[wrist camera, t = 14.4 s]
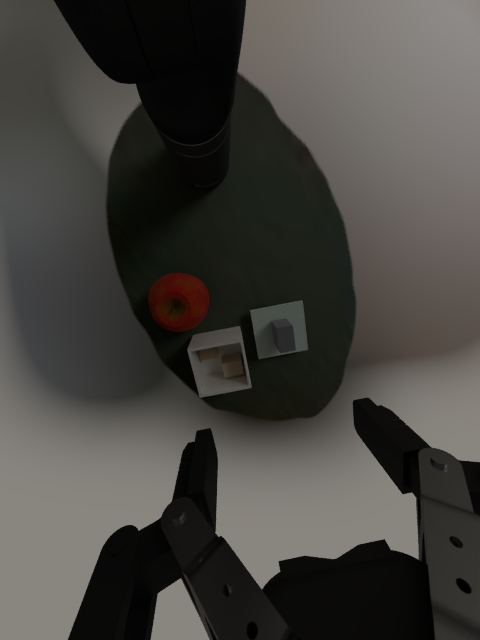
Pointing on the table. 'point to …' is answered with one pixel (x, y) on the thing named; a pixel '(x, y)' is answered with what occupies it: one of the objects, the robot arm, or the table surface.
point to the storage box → (219, 362)
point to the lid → (279, 329)
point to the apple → (178, 301)
